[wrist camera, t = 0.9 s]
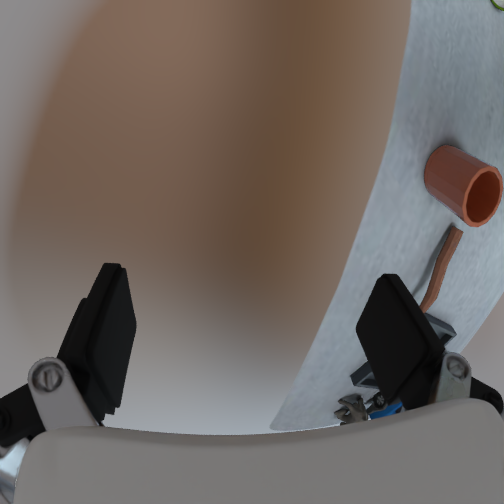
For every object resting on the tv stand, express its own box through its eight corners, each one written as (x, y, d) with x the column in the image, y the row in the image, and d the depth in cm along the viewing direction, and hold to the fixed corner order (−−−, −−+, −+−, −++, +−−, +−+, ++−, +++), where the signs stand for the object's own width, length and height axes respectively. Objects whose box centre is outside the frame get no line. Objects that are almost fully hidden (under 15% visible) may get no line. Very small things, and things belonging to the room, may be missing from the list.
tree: (421, 210, 32) (361, 341, 39) (456, 229, 25) (377, 377, 32) (460, 229, 33) (400, 347, 40) (494, 249, 25) (419, 380, 32)
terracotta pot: (444, 132, 23) (487, 152, 18) (470, 166, 25) (509, 190, 20) (414, 178, 26) (452, 206, 20) (443, 207, 28) (478, 237, 22)
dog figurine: (340, 395, 48) (351, 429, 42) (368, 389, 49) (379, 421, 42) (327, 420, 55) (334, 449, 49) (351, 415, 55) (359, 443, 49)
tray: (421, 310, 37) (427, 320, 35) (451, 326, 41) (457, 334, 40) (350, 376, 44) (353, 386, 43) (389, 382, 49) (393, 390, 47)
